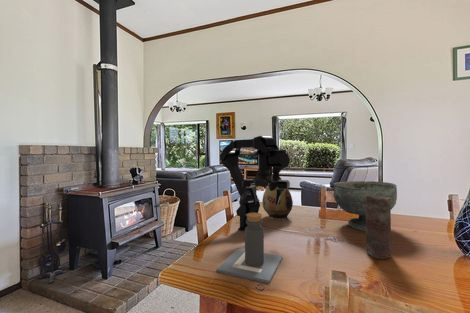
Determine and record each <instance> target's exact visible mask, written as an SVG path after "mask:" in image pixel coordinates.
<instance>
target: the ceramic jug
mask: <svg viewBox="0 0 470 313" xmlns="http://www.w3.org/2000/svg"><path fill="white" fill-rule="evenodd" d="M272 168H273V182H277V181H279V180H283V179H282V178H281V176H280V172H281V171H282V170H284V169H285V168H282V167H272ZM276 189H278V187H277V186H266V187H265V190H264V192H263V195H262V208H263V210H264V212H266V214H267V216H268V218H269V219H270V220H280V221H282V220H288V216H289V214H290V213H291V211H292V210H293V206H294V205H293V204H294V200H293V197H292V194H291V191H290V189H289V188H288V189H286V190H284V191H283V193H282V195H281V197H280V200H279V203H278V205H276V196H277V191H276Z"/></svg>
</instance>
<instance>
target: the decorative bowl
mask: <svg viewBox="0 0 470 313" xmlns="http://www.w3.org/2000/svg"><path fill="white" fill-rule="evenodd" d="M366 195H370V196H379V197H385V198H387V197H389V198H390V205H391V210H392V209H393V208H394V207H395V206H396V204H397V200H398V190H397V184H395V183H393V182H392V183H391V182H387V181H386V182H385V181H365V180H361V181H360V180H358V181H355V180H354V181H339V182H338V181H337V182H334V183H333V198H334V201H335V203H336V204H337V205H338V206H339V207H340V208H341V210H343V211H344V212H345V213H348V214H352V215H358V217H356V218H355V217H354V218H350V219H349V220H348V222H347V225H348V226H349V227H350V228H354V229H355V230H359V231H363V232H366Z"/></svg>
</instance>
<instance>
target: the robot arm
mask: <svg viewBox="0 0 470 313" xmlns="http://www.w3.org/2000/svg"><path fill="white" fill-rule="evenodd" d="M245 148H247V149H249V148H250V149H251V148H252V149H254V150H257V151H256V152H255V153H254V156H256V157H257V156H258V158H257V159H258V163H257V164H258V165H257V166H258V169H257V173H256V175H255V176H254V177H253V178H246V179H245V178H244V174H243V173H242V171H241V169H240V166H239V162H240V159H239V157H240V155H241V149H245ZM234 149H235V150H234ZM219 160H220V162H221V164H222V165H223V166H224V167H225V168H226V169H227V170H228V171H229V173H230V176H231V178H232V180H233V184H234V186H235V188H236V191H237V193H238V194H239V201H238V202H239V207H238V208H237V209H236V211H235V212H236V216H237V217H239V227H238V228H237V229H238V230H239V231H245V228H246V227H247V226H248V224H246V220H247V214H248V213H259V211H260V207H261V203H260V202H261V201H260V200H259V199H260V198H259V197H258V194H257V188H259V187H260V188H267V186H277V187H278V189H276V191H277V196H276V205H278V203H279V200H280V197H281V195H282V193H283V191H284V190H286V189H288V190H289V188H291V185H290V184H291V183H290V181H289V180H288V179H282V180H279V181H277V182H273V167H282V168H284V169H285V168H287V167H288V166H289V165H290V160H291V158H290V156H289V154H288V153H287V150H286V149H280V148H279V147H278V145H277V143H276V141H275V138H273V136H270V135H259V136H256V137H253V138H251V139H233V140H230V142H229V144H228V145H226V146H225V147H224V148H223V149H222V151H221V153H220V154H219Z"/></svg>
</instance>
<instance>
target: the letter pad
mask: <svg viewBox="0 0 470 313" xmlns="http://www.w3.org/2000/svg"><path fill="white" fill-rule="evenodd" d="M283 258H284V257H283V255H280V254H273V253H267V252H264V263H263V264H262V265H260V266H249V265H247V264H246V263H245V248H236V249H235V250H234V251H233V252H232V254H230V255H229V256H228V257H227V258H226V259H225V260H224V261H223V262H222V263H221V264H219V266H218V267H217V268H216V272H217V273H221V274H225V275H229V276H234V277H238V278H242V279H247V280H252V281H256V282H261V283H264V284H270V283H271V281H272V279H273V277H274V276H275V274H276V272H277V270H278V268H279V266H280V264H281V263H282V261H283Z"/></svg>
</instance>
